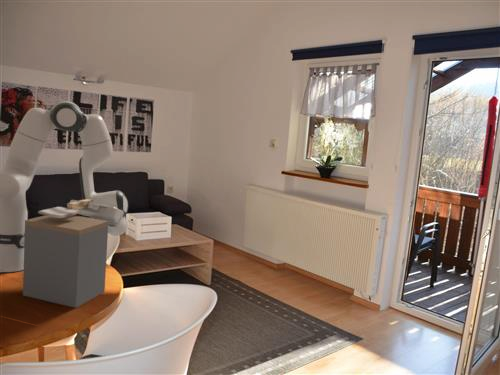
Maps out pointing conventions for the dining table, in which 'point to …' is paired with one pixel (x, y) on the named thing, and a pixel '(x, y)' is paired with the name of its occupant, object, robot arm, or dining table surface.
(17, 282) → the dining table surface
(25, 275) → the grey box
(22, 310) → the dining table surface
